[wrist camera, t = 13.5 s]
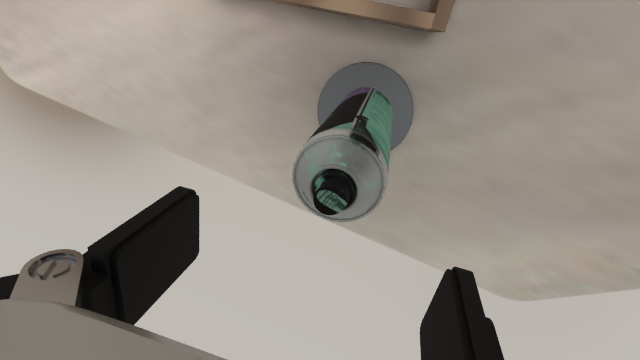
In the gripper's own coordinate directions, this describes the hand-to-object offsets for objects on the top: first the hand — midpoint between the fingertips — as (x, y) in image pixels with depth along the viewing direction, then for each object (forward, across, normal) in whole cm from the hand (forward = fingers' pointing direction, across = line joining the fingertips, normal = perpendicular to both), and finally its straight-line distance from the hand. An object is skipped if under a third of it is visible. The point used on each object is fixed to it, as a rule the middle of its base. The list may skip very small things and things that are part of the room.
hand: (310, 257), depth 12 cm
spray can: (+25, +1, 0) cm, 25 cm away
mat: (+26, +1, 0) cm, 26 cm away
